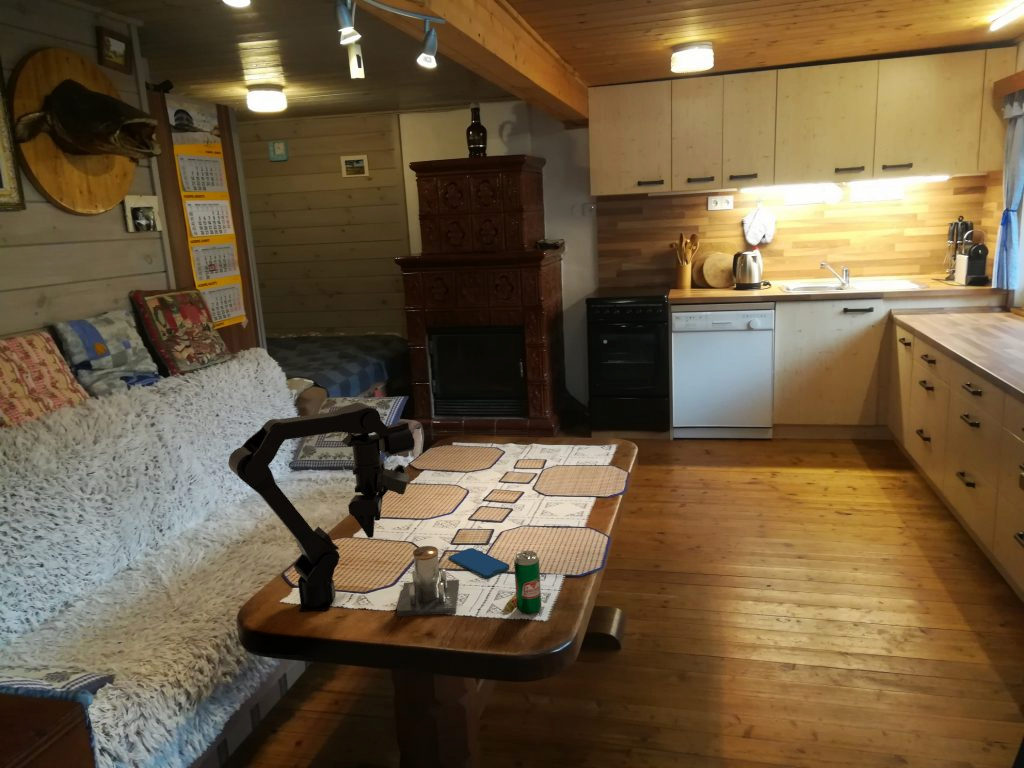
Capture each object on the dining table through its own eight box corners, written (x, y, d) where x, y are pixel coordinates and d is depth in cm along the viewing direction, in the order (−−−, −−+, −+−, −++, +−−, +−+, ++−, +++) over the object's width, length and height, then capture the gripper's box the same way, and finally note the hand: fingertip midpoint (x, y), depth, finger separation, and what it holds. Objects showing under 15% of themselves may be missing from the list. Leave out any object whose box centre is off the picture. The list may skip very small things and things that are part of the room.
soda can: (524, 618, 153) (521, 563, 150) (512, 607, 157) (509, 553, 154) (546, 611, 155) (543, 556, 152) (533, 600, 159) (531, 547, 156)
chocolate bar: (535, 587, 166) (535, 578, 165) (512, 614, 155) (512, 604, 154) (525, 585, 167) (524, 576, 166) (501, 612, 156) (500, 602, 156)
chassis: (397, 616, 156) (395, 593, 155) (404, 587, 167) (402, 566, 166) (455, 613, 156) (454, 589, 155) (459, 584, 168) (457, 563, 166)
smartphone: (471, 547, 185) (511, 565, 174) (471, 550, 185) (511, 569, 174) (446, 557, 180) (486, 576, 169) (447, 561, 181) (486, 580, 169)
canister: (415, 601, 159) (411, 557, 156) (417, 589, 164) (414, 546, 162) (440, 600, 159) (437, 556, 157) (442, 588, 164) (438, 545, 162)
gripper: (399, 474, 155) (405, 545, 158) (409, 445, 173) (415, 510, 177) (344, 477, 155) (352, 547, 158) (360, 448, 173) (367, 512, 177)
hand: (374, 528), depth 167 cm, fingers open, 9 cm apart
